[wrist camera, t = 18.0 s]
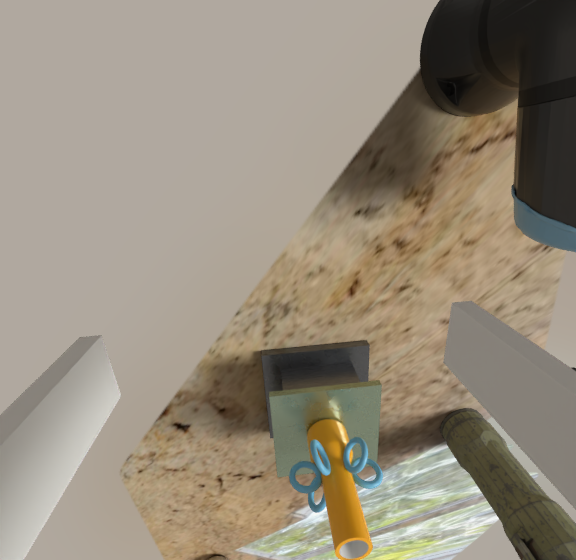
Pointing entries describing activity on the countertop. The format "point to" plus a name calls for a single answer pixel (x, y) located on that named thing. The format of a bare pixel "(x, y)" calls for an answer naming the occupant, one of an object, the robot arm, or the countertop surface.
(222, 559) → the plastic bottle
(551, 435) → the robot arm
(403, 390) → the countertop surface
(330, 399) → the grey green pedestal stand
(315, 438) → the cylinder
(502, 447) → the thermos
